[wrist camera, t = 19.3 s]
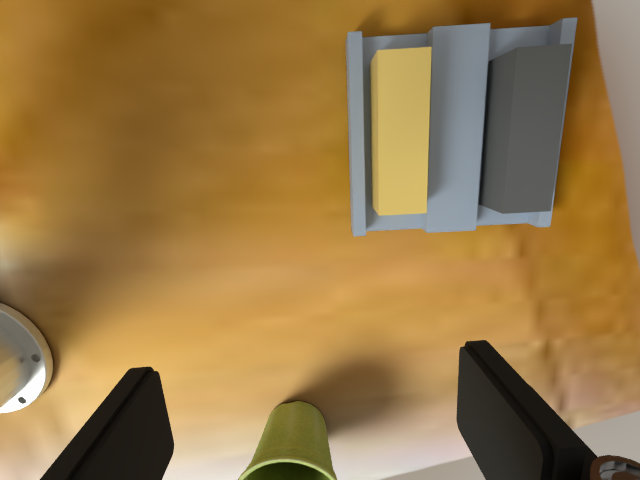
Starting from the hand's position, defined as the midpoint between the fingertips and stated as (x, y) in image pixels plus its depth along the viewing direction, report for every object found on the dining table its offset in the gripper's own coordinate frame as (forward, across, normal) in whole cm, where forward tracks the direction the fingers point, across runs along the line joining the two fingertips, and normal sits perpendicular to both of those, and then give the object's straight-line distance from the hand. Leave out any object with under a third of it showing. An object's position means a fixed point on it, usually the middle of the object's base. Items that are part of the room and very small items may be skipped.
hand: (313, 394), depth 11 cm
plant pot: (+22, +3, +21) cm, 30 cm away
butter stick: (+20, -7, -8) cm, 22 cm away
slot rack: (+20, -12, -8) cm, 25 cm away
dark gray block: (+19, -16, -7) cm, 26 cm away
